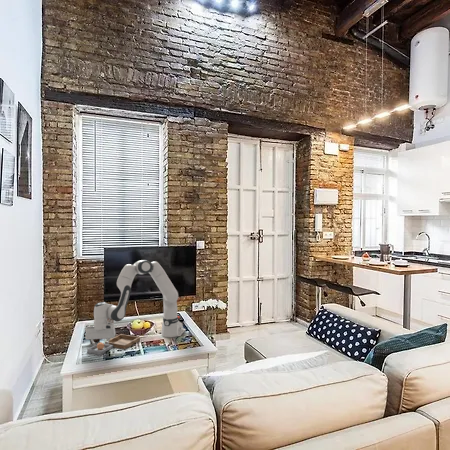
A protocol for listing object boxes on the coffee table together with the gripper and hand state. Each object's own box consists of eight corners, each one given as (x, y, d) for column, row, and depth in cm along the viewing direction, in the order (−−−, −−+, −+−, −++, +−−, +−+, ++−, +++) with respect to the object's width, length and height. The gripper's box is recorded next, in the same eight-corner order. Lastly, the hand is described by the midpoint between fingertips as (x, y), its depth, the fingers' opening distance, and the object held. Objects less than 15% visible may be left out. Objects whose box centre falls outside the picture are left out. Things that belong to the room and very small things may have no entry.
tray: (99, 346, 241) (99, 342, 241) (113, 348, 237) (113, 345, 237) (87, 352, 229) (87, 348, 229) (101, 355, 225) (101, 351, 225)
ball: (100, 347, 236) (100, 340, 236) (105, 348, 235) (105, 341, 234) (95, 350, 231) (95, 343, 231) (100, 351, 230) (100, 344, 230)
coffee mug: (103, 341, 251) (103, 328, 251) (96, 345, 242) (96, 332, 242) (90, 339, 254) (90, 327, 254) (83, 343, 246) (82, 330, 245)
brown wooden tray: (121, 338, 257) (121, 333, 257) (140, 341, 251) (140, 337, 250) (105, 346, 240) (105, 341, 240) (124, 350, 234) (124, 345, 234)
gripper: (84, 327, 228) (84, 347, 228) (114, 326, 231) (114, 345, 232) (86, 324, 234) (86, 343, 234) (115, 323, 237) (116, 341, 238)
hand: (100, 344), depth 233 cm, fingers open, 8 cm apart
